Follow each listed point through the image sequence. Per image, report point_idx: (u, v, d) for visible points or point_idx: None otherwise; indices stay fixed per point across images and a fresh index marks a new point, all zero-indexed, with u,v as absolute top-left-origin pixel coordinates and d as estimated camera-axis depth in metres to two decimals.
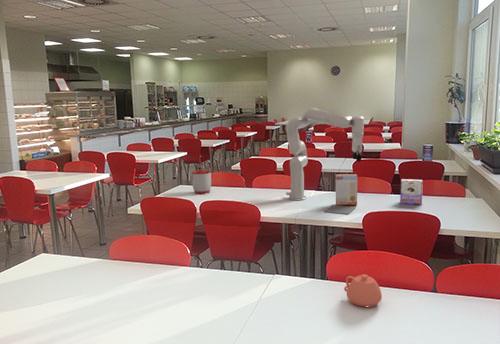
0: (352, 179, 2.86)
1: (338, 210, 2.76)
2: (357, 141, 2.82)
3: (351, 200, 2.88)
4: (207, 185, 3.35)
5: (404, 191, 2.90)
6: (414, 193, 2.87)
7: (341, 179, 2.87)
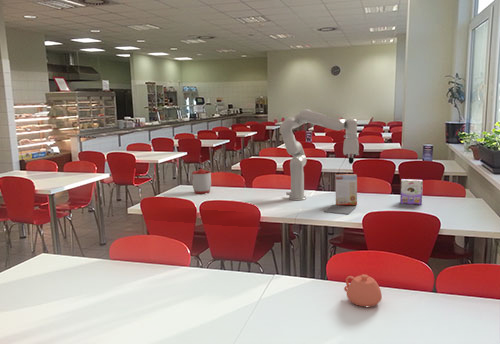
0: (352, 179, 2.87)
1: (338, 210, 2.76)
2: (357, 143, 2.89)
3: (351, 200, 2.88)
4: (207, 185, 3.35)
5: (404, 191, 2.90)
6: (414, 193, 2.87)
7: (341, 179, 2.87)
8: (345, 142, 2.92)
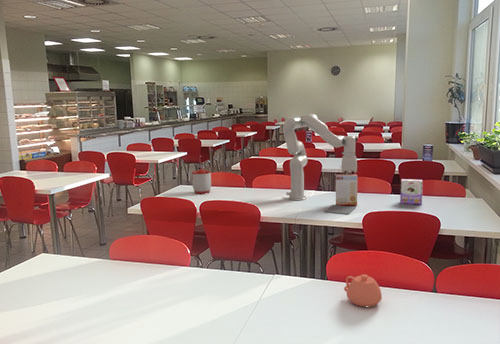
0: (352, 179, 2.86)
1: (338, 210, 2.76)
2: (356, 160, 2.89)
3: (351, 200, 2.87)
4: (207, 185, 3.35)
5: (404, 191, 2.90)
6: (414, 193, 2.87)
7: (341, 179, 2.87)
8: (343, 159, 2.91)
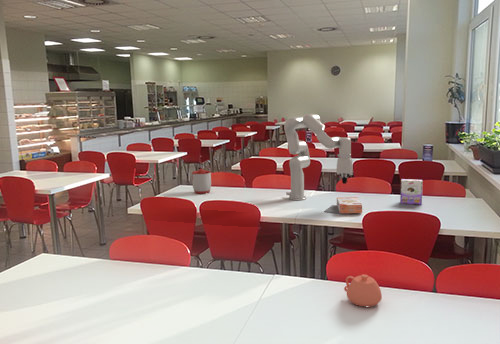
0: None
1: (338, 210, 2.76)
2: (351, 162, 2.79)
3: None
4: (207, 185, 3.35)
5: (404, 191, 2.90)
6: (414, 193, 2.87)
7: None
8: (338, 161, 2.81)
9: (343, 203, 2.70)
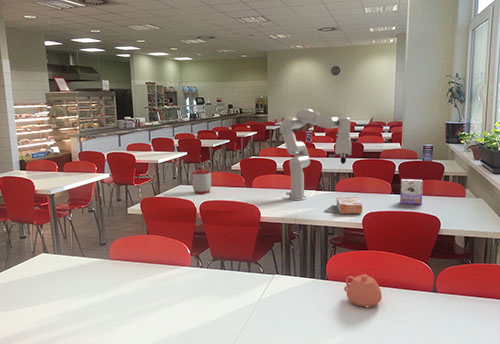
0: None
1: (338, 210, 2.76)
2: (350, 142, 2.78)
3: None
4: (207, 185, 3.35)
5: (404, 191, 2.90)
6: (414, 193, 2.87)
7: None
8: (337, 141, 2.81)
9: (343, 203, 2.70)
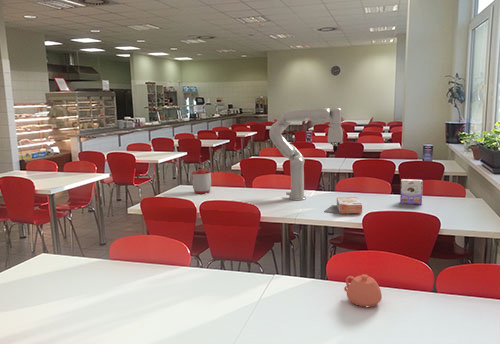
0: None
1: (338, 210, 2.76)
2: (341, 131, 2.96)
3: None
4: (207, 185, 3.35)
5: (404, 191, 2.90)
6: (414, 193, 2.87)
7: None
8: (329, 130, 2.99)
9: (343, 203, 2.70)
